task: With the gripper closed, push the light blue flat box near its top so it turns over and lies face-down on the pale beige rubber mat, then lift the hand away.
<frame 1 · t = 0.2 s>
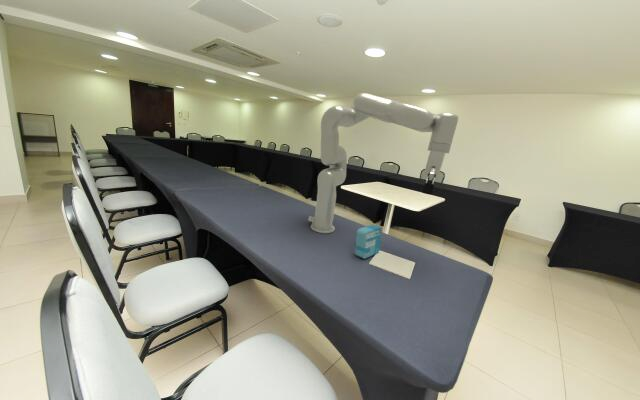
hand: (427, 191, 95), 31 cm above the table, tool pointing down, fingers open, 9 cm apart
light blue flat box: (367, 254, 103), on the table, touching beige mat
beige mat: (392, 263, 98), on the table
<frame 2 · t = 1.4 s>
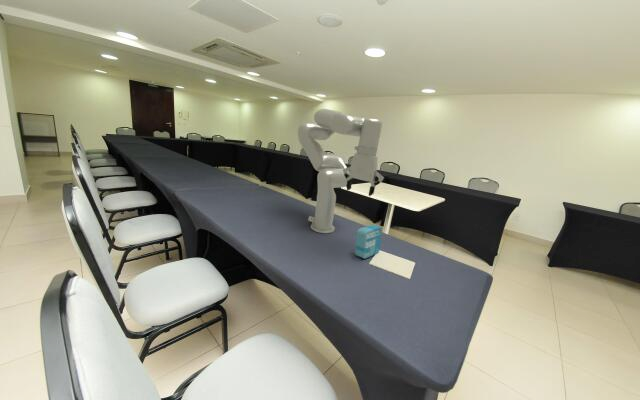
hand: (359, 192, 99), 26 cm above the table, tool pointing down, fingers open, 9 cm apart
nothing on the table moved.
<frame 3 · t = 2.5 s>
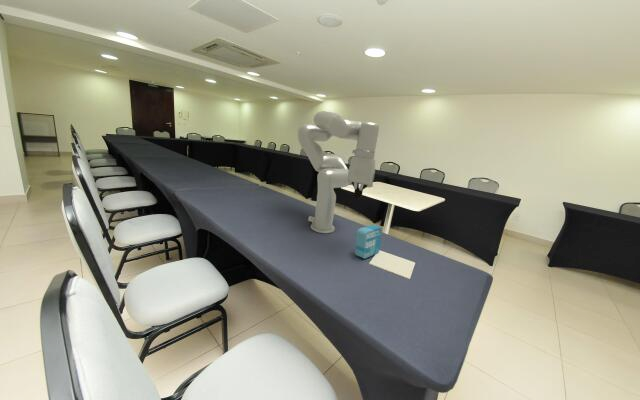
hand: (357, 198, 100), 24 cm above the table, tool pointing down, fingers closed
nothing on the table moved.
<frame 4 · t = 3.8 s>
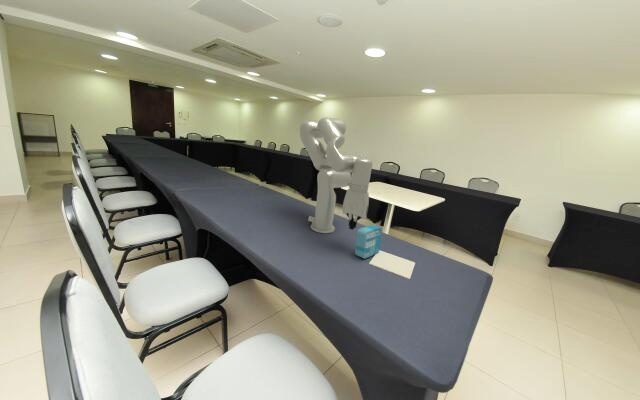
hand: (351, 228, 104), 10 cm above the table, tool pointing down, fingers closed
nothing on the table moved.
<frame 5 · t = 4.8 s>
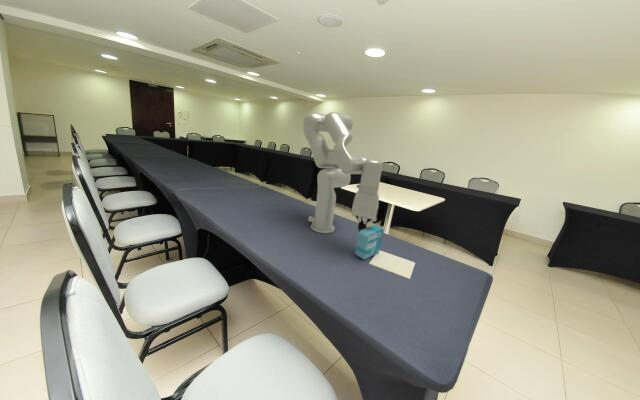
hand: (361, 230, 102), 10 cm above the table, tool pointing down, fingers closed
light blue flat box: (367, 254, 103), on the table, touching beige mat, gripper
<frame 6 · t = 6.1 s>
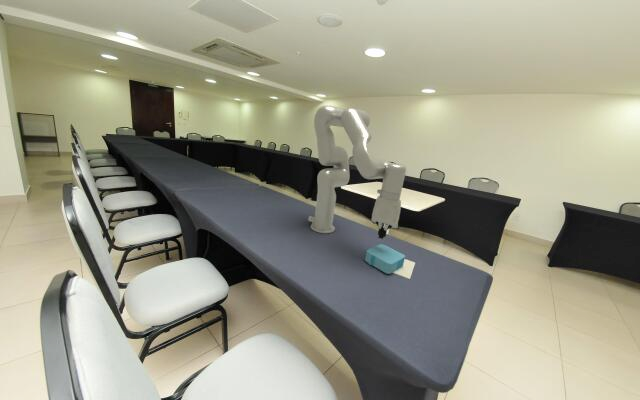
hand: (381, 237, 98), 10 cm above the table, tool pointing down, fingers closed
light blue flat box: (372, 251, 101), point 3 cm above the table, touching beige mat
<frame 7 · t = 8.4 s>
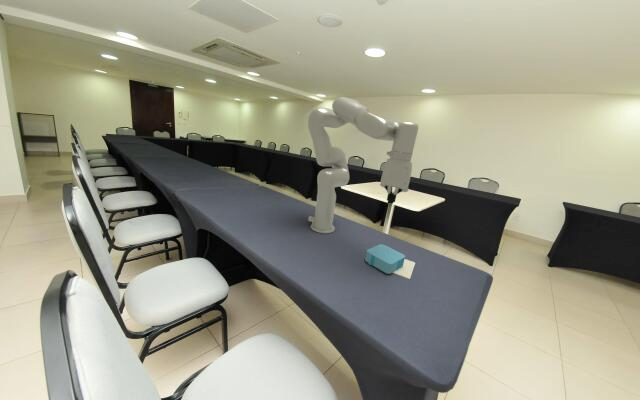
hand: (390, 203, 94), 25 cm above the table, tool pointing down, fingers closed
nothing on the table moved.
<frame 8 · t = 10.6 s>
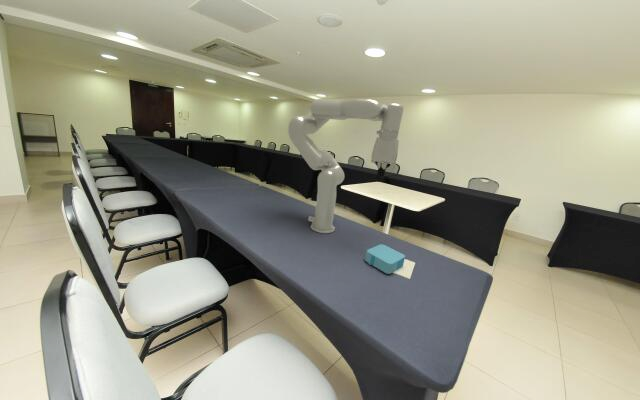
hand: (380, 177, 106), 32 cm above the table, tool pointing down, fingers closed
nothing on the table moved.
at the end: light blue flat box tilted 90°; light blue flat box touching beige mat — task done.
